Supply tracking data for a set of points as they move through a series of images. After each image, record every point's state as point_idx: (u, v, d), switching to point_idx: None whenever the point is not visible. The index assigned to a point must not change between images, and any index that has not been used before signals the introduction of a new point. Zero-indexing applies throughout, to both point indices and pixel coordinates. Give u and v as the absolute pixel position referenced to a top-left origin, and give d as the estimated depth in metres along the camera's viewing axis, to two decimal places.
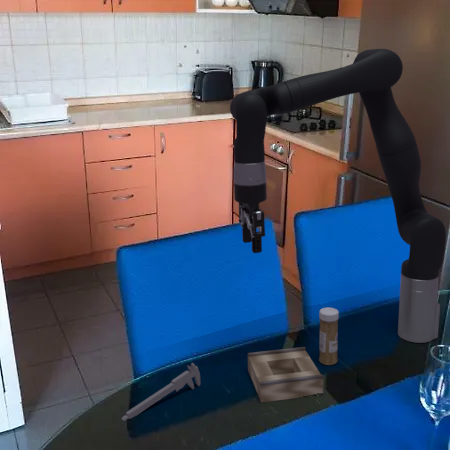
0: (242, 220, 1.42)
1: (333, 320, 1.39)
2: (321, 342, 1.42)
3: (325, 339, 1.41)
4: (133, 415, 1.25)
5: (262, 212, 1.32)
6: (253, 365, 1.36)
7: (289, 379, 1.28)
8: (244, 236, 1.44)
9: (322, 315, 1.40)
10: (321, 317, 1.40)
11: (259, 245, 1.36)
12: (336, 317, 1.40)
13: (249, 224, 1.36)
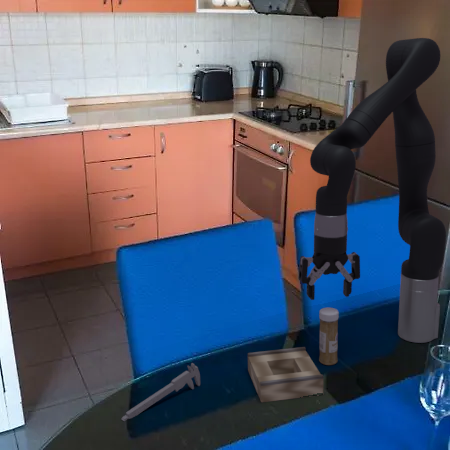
0: None
1: (333, 320, 1.39)
2: (321, 342, 1.42)
3: (325, 339, 1.41)
4: (133, 415, 1.24)
5: None
6: (253, 365, 1.36)
7: (289, 379, 1.28)
8: None
9: (322, 315, 1.40)
10: (321, 317, 1.40)
11: None
12: (336, 317, 1.40)
13: (346, 271, 1.37)
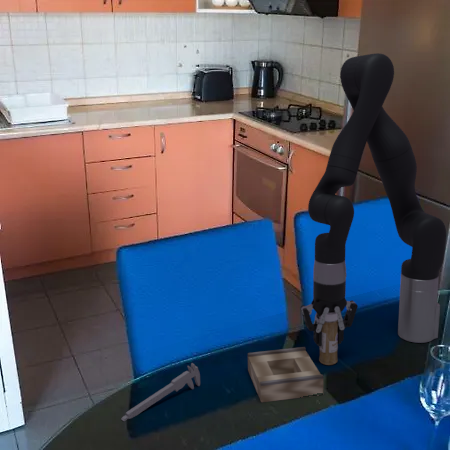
0: None
1: (333, 320, 1.39)
2: (321, 342, 1.42)
3: (325, 339, 1.41)
4: (133, 415, 1.24)
5: None
6: (253, 365, 1.36)
7: (289, 379, 1.28)
8: None
9: None
10: None
11: None
12: (336, 317, 1.40)
13: None
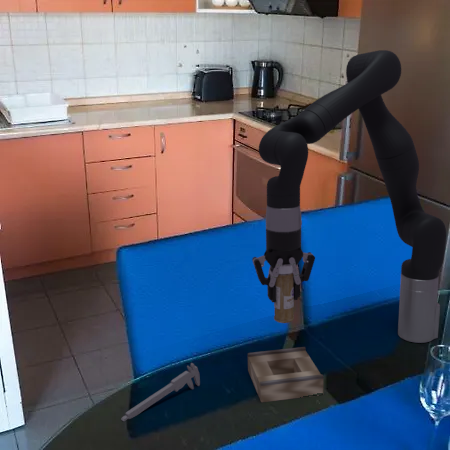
0: None
1: (287, 272, 1.27)
2: None
3: (279, 294, 1.28)
4: (133, 415, 1.24)
5: None
6: (253, 365, 1.36)
7: (289, 379, 1.28)
8: None
9: None
10: None
11: None
12: (291, 269, 1.27)
13: (297, 271, 1.28)
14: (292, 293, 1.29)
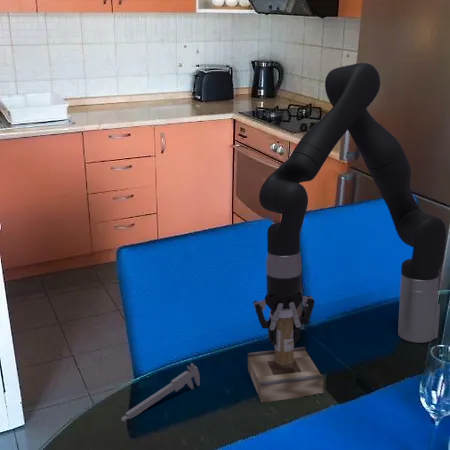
0: None
1: (287, 316, 1.29)
2: (276, 340, 1.32)
3: (280, 337, 1.31)
4: (133, 415, 1.24)
5: None
6: (253, 365, 1.36)
7: (289, 379, 1.28)
8: None
9: None
10: None
11: None
12: (291, 313, 1.30)
13: (297, 315, 1.30)
14: (292, 336, 1.32)
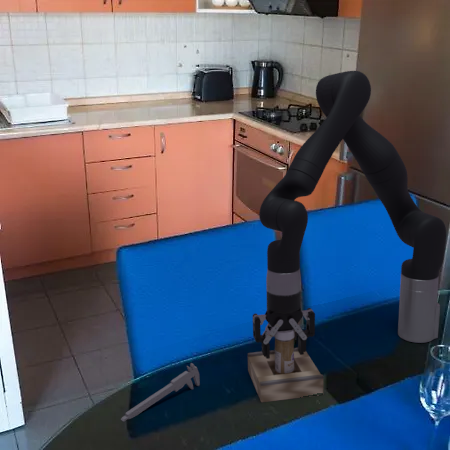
0: None
1: (288, 339, 1.31)
2: (276, 362, 1.33)
3: (280, 359, 1.32)
4: (132, 415, 1.24)
5: (311, 309, 1.33)
6: (253, 365, 1.36)
7: (289, 379, 1.28)
8: None
9: (277, 333, 1.31)
10: (275, 336, 1.32)
11: None
12: (291, 336, 1.31)
13: (300, 328, 1.31)
14: (292, 358, 1.33)
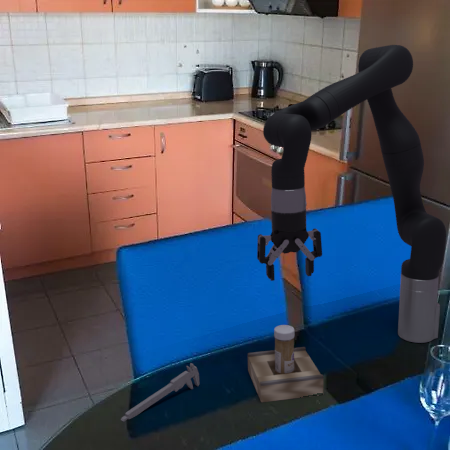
0: None
1: (288, 339, 1.31)
2: (276, 362, 1.33)
3: (280, 359, 1.32)
4: (132, 416, 1.24)
5: None
6: (253, 365, 1.36)
7: (289, 379, 1.28)
8: None
9: (277, 333, 1.31)
10: (276, 335, 1.32)
11: None
12: (291, 335, 1.31)
13: None
14: (292, 357, 1.33)
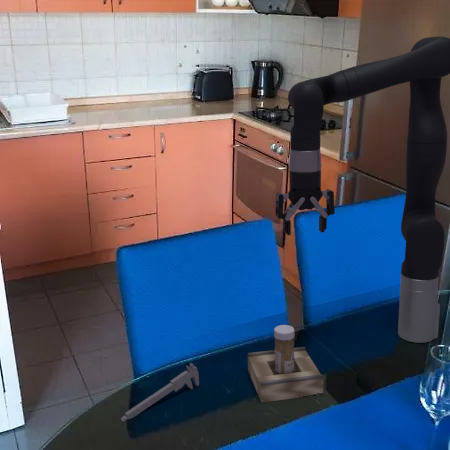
0: None
1: (288, 339, 1.31)
2: (276, 362, 1.33)
3: (280, 359, 1.32)
4: (132, 416, 1.24)
5: None
6: (253, 365, 1.36)
7: (289, 379, 1.28)
8: None
9: (277, 333, 1.31)
10: (275, 335, 1.32)
11: None
12: (291, 336, 1.31)
13: None
14: (292, 358, 1.33)
